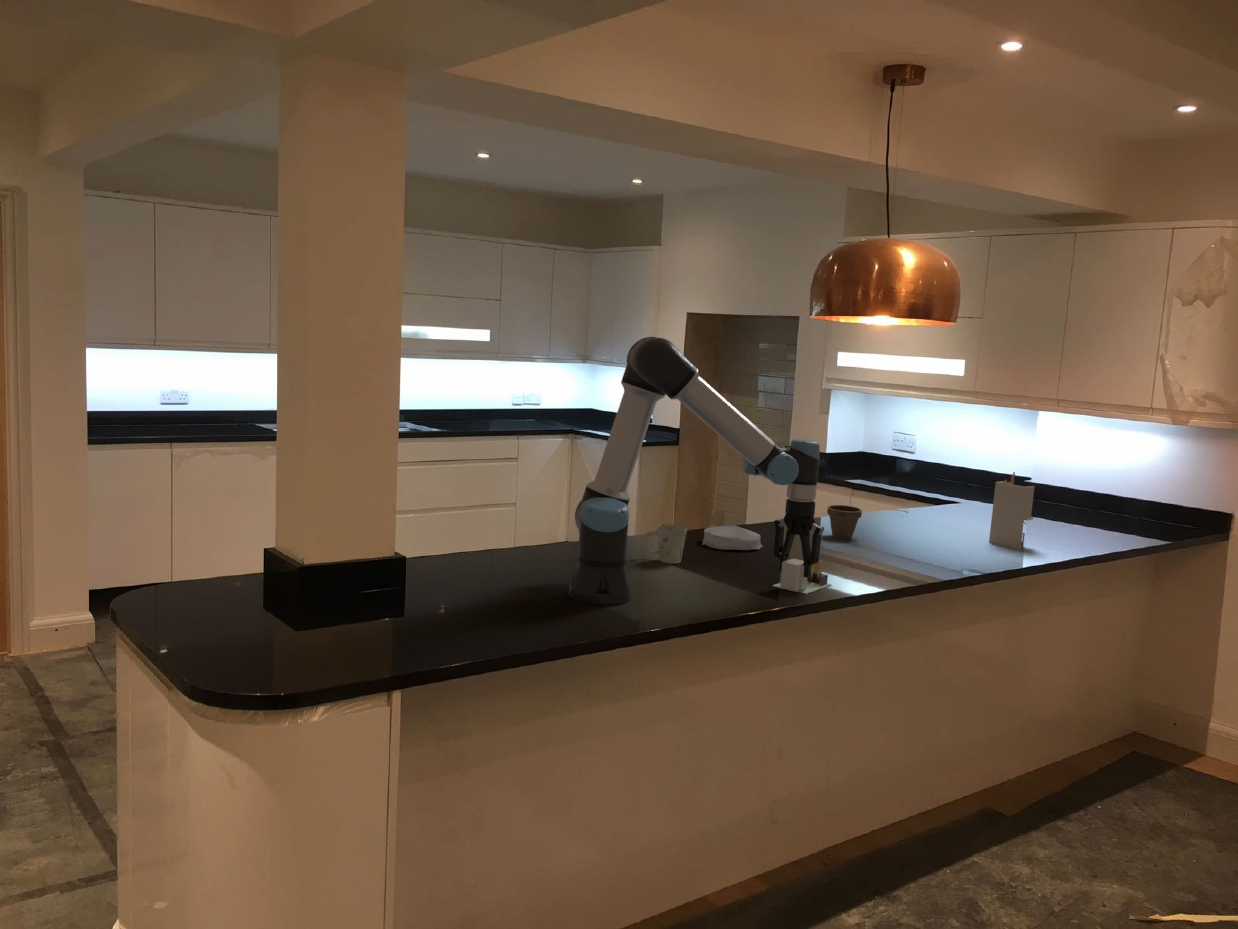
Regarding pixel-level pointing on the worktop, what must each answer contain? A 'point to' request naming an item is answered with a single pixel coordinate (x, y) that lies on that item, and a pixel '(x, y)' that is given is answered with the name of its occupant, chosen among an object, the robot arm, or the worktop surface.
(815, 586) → the board
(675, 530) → the mug
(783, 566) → the plug housing
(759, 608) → the worktop surface
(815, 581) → the header pins
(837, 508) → the flower pot
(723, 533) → the food container
